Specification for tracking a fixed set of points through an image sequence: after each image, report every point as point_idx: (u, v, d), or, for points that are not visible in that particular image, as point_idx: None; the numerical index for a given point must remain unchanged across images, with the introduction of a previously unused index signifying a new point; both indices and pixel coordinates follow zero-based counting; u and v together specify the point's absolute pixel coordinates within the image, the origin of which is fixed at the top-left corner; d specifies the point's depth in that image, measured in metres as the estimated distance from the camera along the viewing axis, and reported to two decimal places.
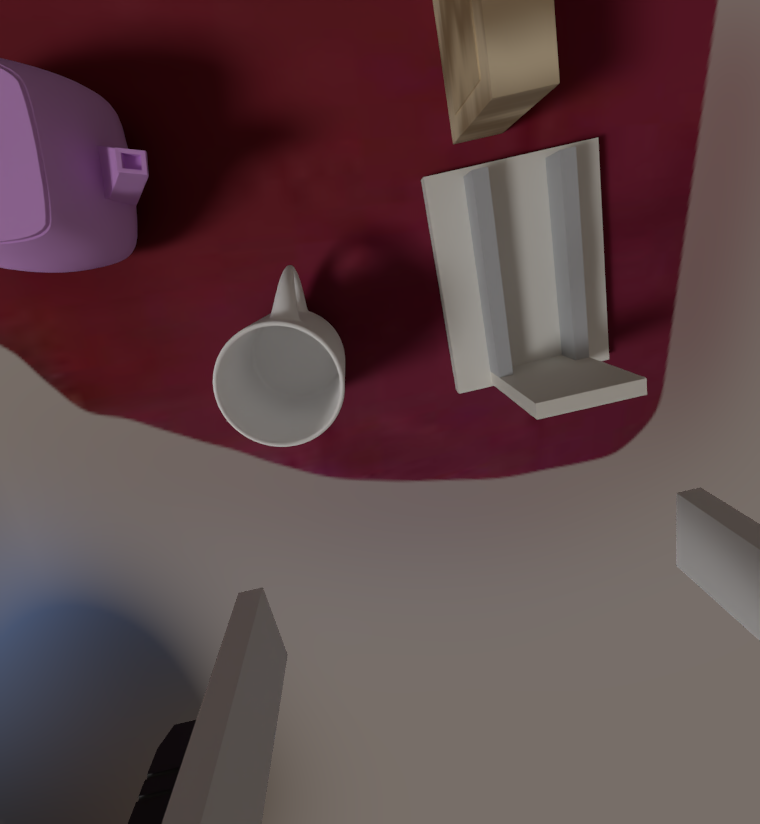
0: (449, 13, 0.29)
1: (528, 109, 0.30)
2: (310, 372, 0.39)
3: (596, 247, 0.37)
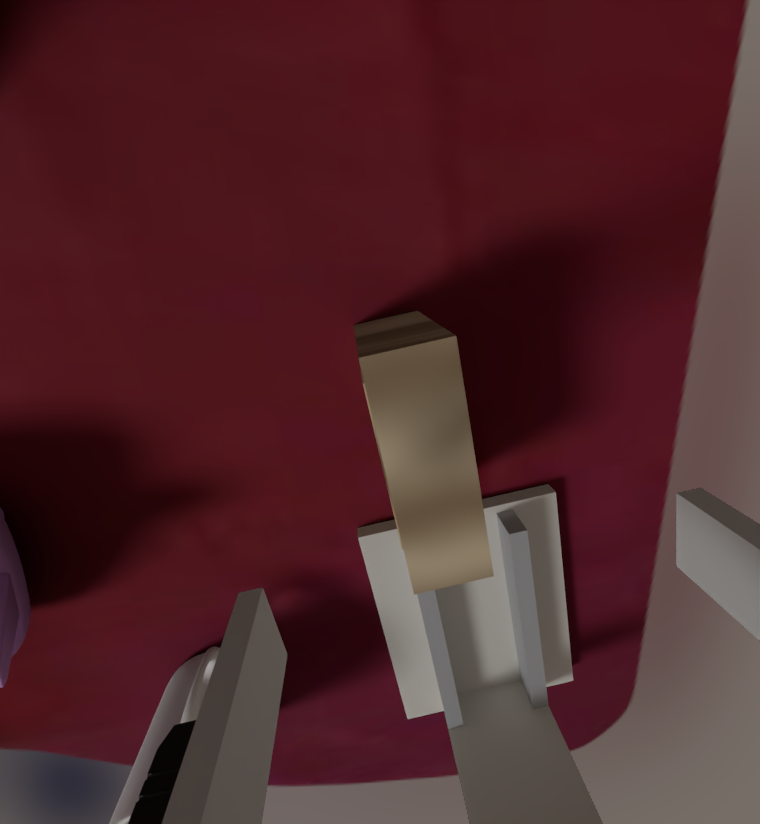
0: None
1: None
2: None
3: (556, 587, 0.33)
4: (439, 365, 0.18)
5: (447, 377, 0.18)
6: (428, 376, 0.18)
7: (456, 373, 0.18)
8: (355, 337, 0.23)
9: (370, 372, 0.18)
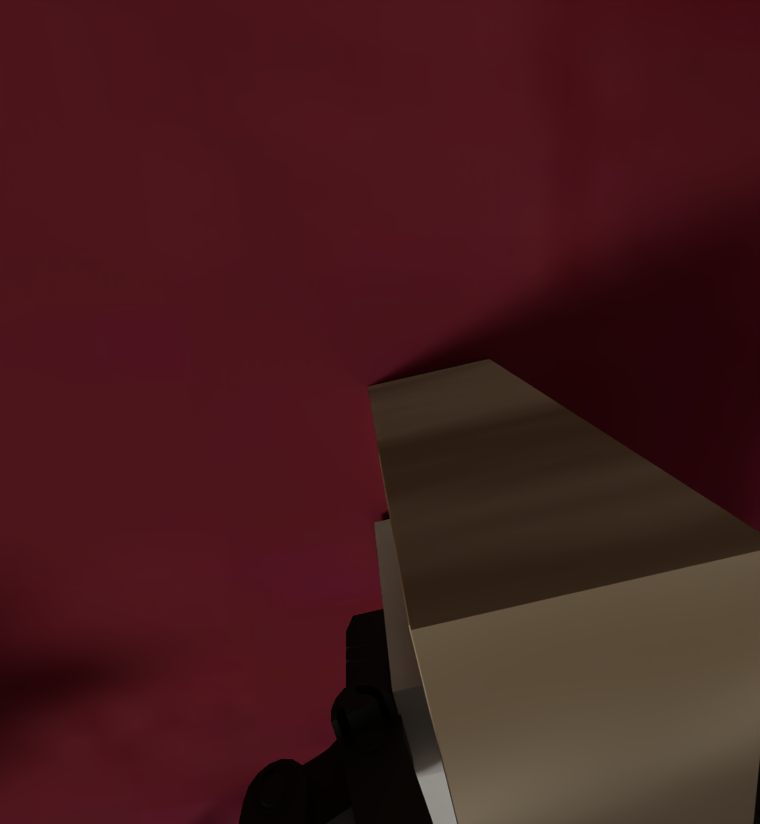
0: None
1: None
2: None
3: None
4: (701, 637, 0.05)
5: (717, 671, 0.05)
6: (654, 672, 0.05)
7: (750, 658, 0.05)
8: None
9: (453, 670, 0.05)
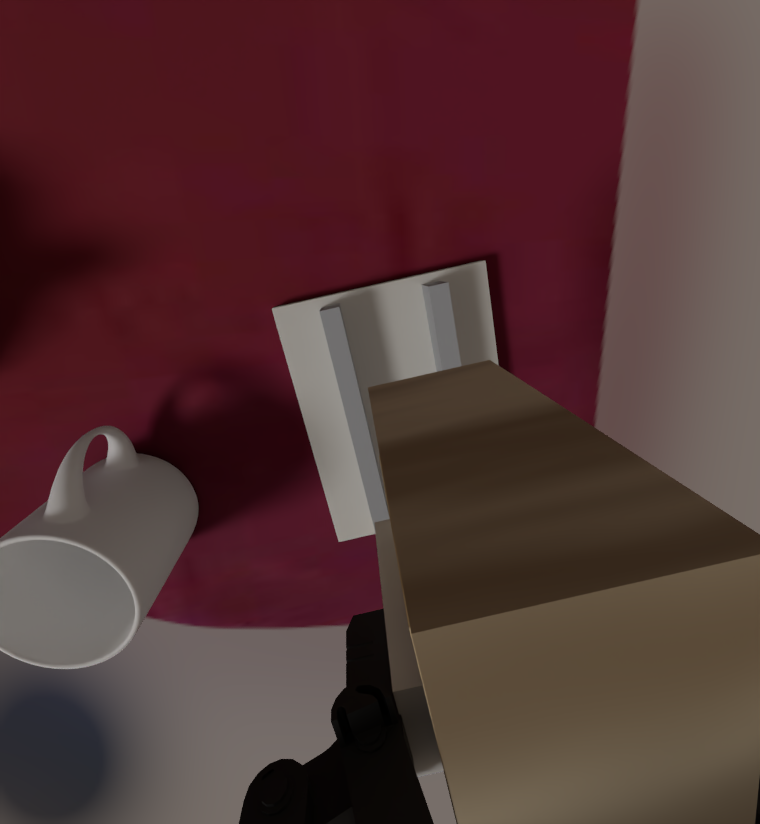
0: None
1: None
2: None
3: None
4: (703, 641, 0.05)
5: (719, 674, 0.05)
6: (655, 675, 0.05)
7: (751, 661, 0.05)
8: (378, 444, 0.10)
9: (453, 673, 0.05)
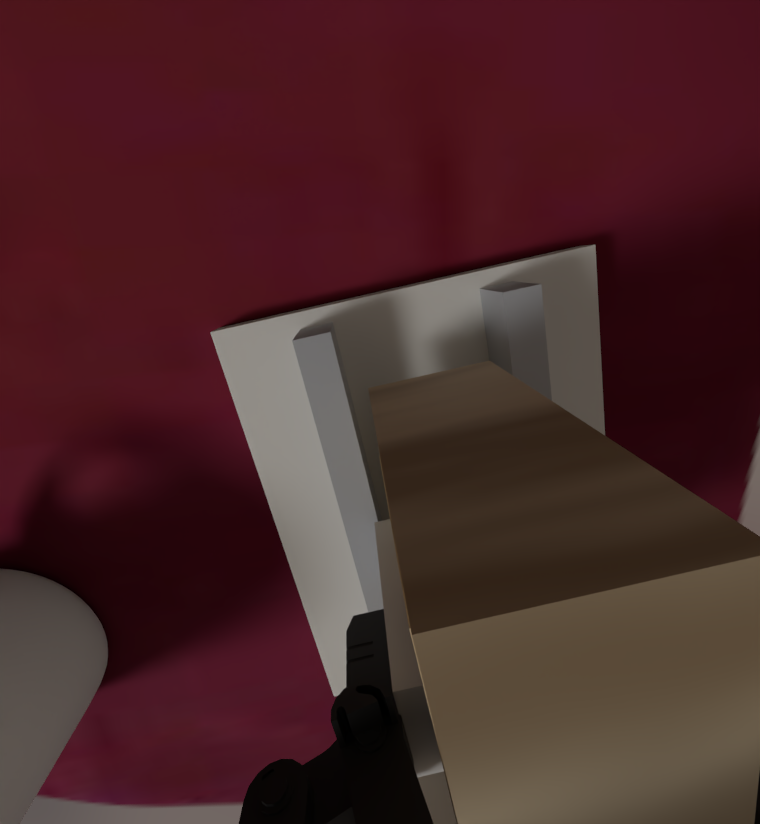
0: None
1: None
2: None
3: None
4: (702, 643, 0.05)
5: (718, 675, 0.05)
6: (654, 676, 0.05)
7: (750, 662, 0.05)
8: (378, 445, 0.10)
9: (454, 674, 0.05)
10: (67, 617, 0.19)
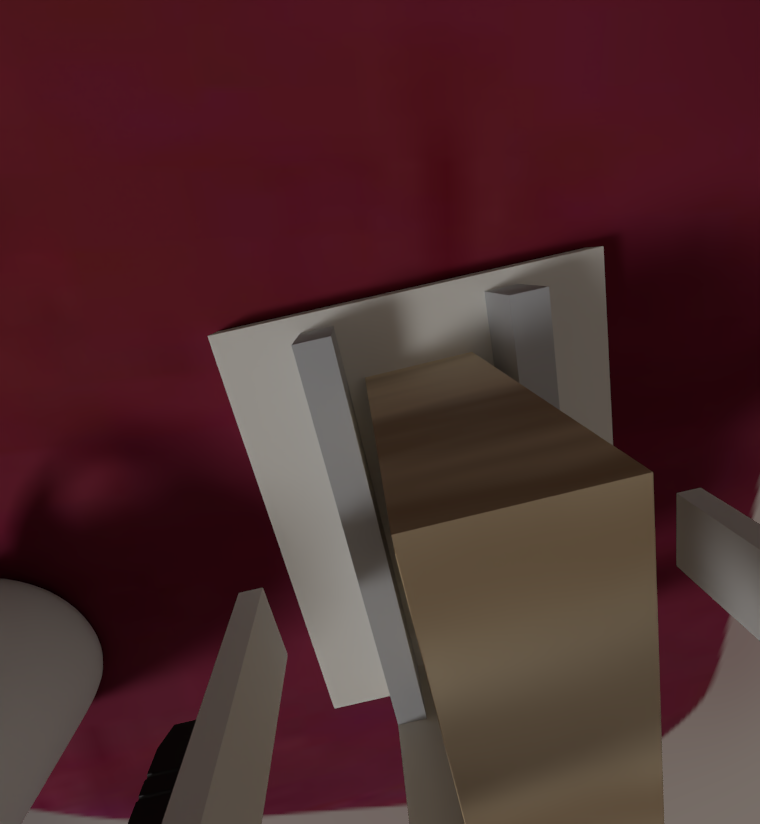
0: None
1: None
2: None
3: None
4: (602, 543, 0.07)
5: (617, 569, 0.07)
6: (570, 569, 0.07)
7: (641, 559, 0.07)
8: (372, 420, 0.11)
9: (422, 566, 0.07)
10: (61, 628, 0.18)
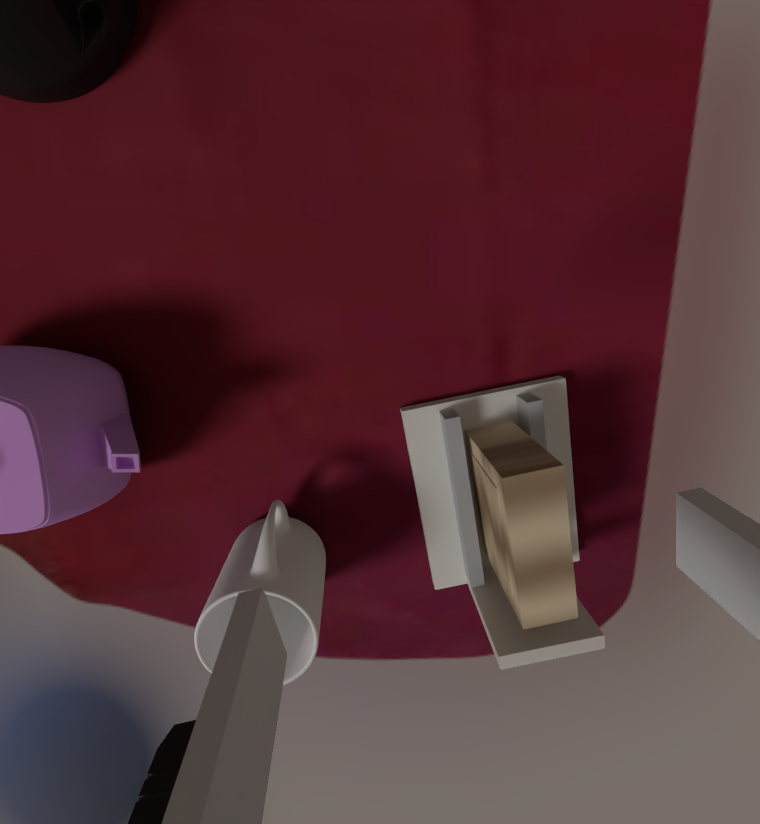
0: (485, 506, 0.35)
1: None
2: None
3: (565, 467, 0.39)
4: (552, 482, 0.28)
5: (556, 489, 0.28)
6: (544, 489, 0.28)
7: (562, 487, 0.28)
8: (479, 449, 0.33)
9: (508, 486, 0.28)
10: (317, 539, 0.39)
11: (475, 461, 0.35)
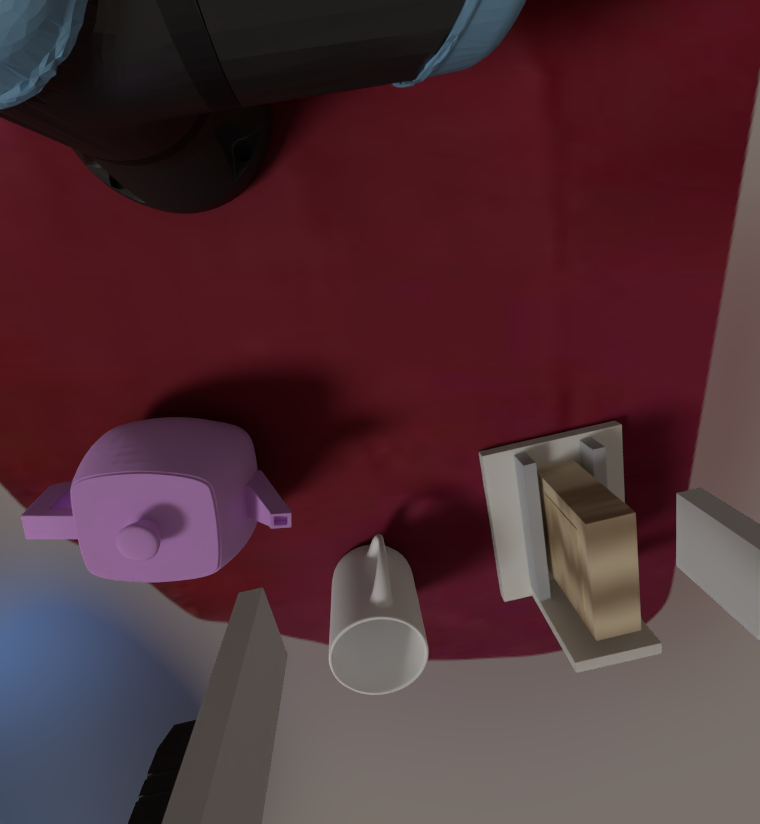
0: (557, 537, 0.42)
1: None
2: None
3: (618, 497, 0.46)
4: (625, 526, 0.35)
5: (628, 531, 0.35)
6: (619, 531, 0.35)
7: (633, 529, 0.35)
8: (556, 492, 0.39)
9: (590, 530, 0.35)
10: (407, 563, 0.46)
11: (548, 499, 0.42)
